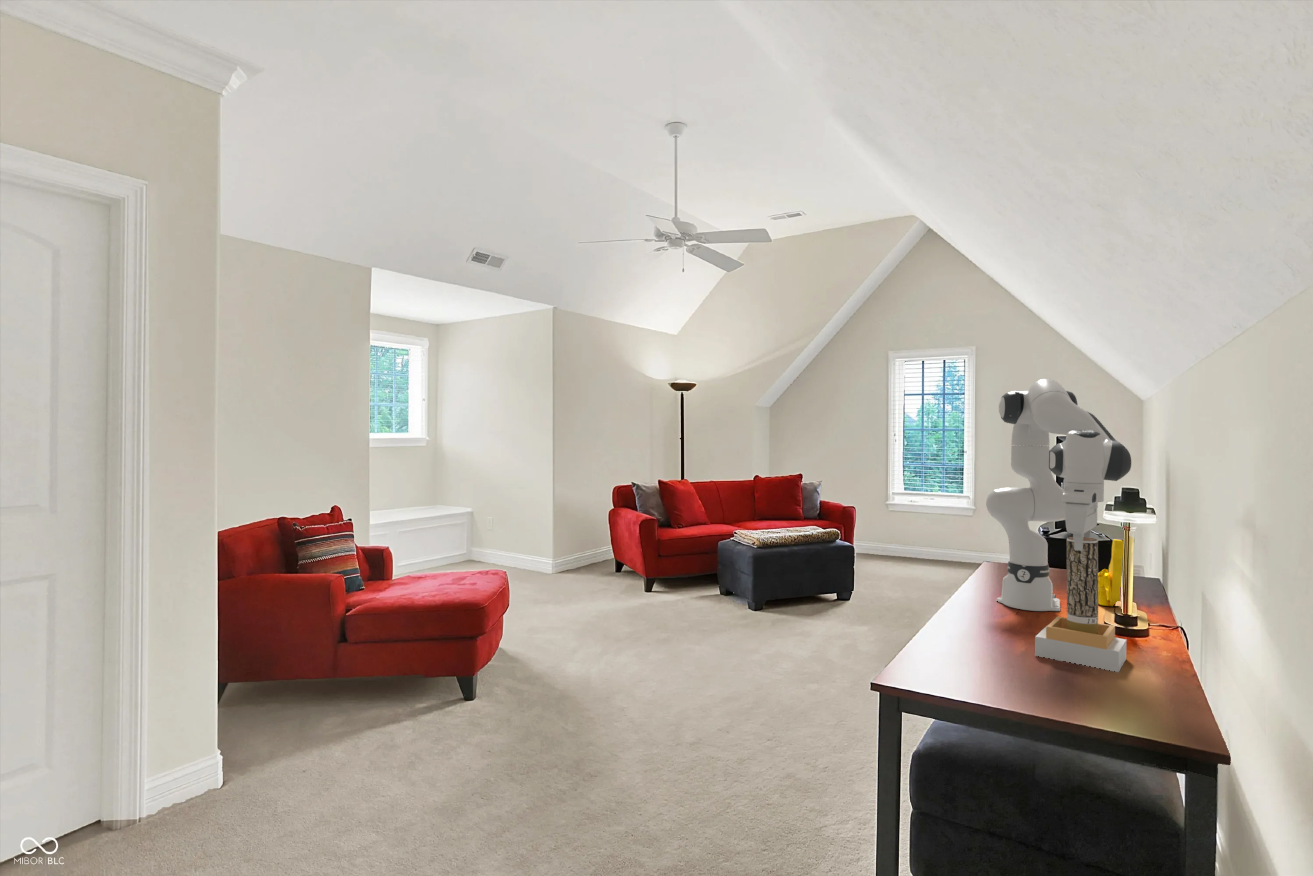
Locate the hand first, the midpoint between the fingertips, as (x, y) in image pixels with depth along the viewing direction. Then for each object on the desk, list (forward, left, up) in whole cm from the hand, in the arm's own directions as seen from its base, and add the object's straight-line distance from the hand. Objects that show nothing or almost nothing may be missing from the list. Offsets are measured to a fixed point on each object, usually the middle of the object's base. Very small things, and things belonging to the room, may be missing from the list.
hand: (1082, 547), depth 177 cm
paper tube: (0, 0, -23) cm, 23 cm away
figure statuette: (-68, -3, -28) cm, 74 cm away
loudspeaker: (0, 0, -28) cm, 28 cm away
